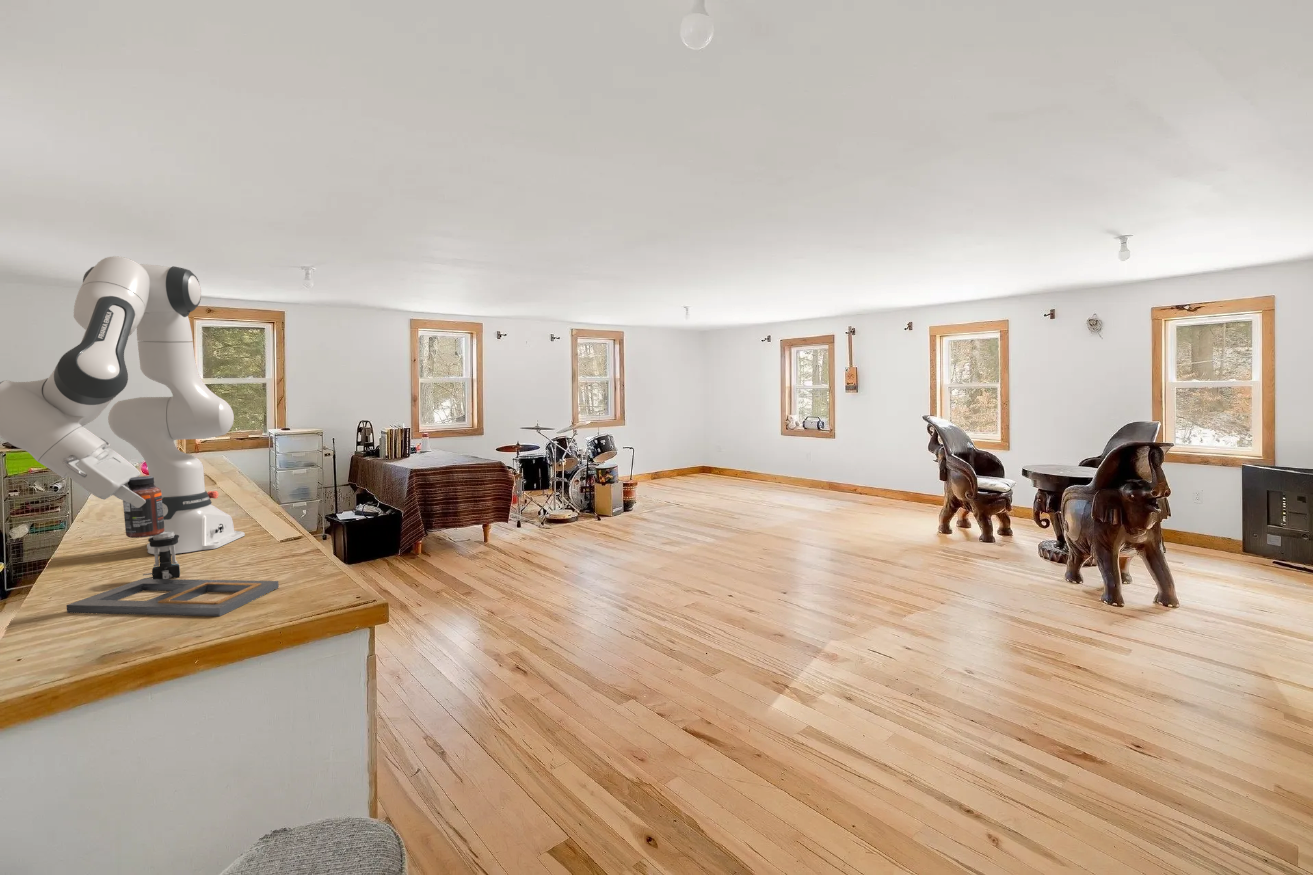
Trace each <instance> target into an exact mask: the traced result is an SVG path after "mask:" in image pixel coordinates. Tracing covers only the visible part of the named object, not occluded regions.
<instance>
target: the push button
mask: <svg viewBox="0 0 1313 875" xmlns="http://www.w3.org/2000/svg"><path fill="white" fill-rule="evenodd" d="M178 538H179V535H175V534H174V532H173V531H164V532H163V533H161V534H159V535H155V536H153V537H152V538H150V537H148V539H147V541H148V543H149V542H150V546H151V547H154V554H153V555H154V563H153V567H152V570H151V572H149V573H143V574H142V576H147V575H151V576H149V577H143V578H142V579H178V578H180V576H181V569H180V564H179V563H178V561H177V558H176V554H175V544H176V543H178ZM169 547H171V553H172V554H170V550H169ZM158 548H160V552H159V554H158Z"/></svg>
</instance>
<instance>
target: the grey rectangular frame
mask: <svg viewBox="0 0 1313 875" xmlns="http://www.w3.org/2000/svg"><path fill="white" fill-rule="evenodd" d="M279 584H280V583H279V581H278V580H241V579H240V580H239V579H237V580H235V579H233V580H232V579H229V580H228V579H178V578H170V579H153V578H152V579H147V578H146V579H143V578H141V579H137V580H135V581H131V582H129V583H125V584H122V585H120V586H118V587H114V588H111V589H109V590H107V591H103V592H101V593H97V594H94V595H91V596H88V597H86V598H83V599H80V600H77V601H74V602H71V603H68V604H66V613H67V614H91V613H93V614H94V615H95V614H96V613H97V614H98V615H99V614H100V615H102V614H103V615H137V616H138V615H144V616H145V615H146V616H152V615H153V616H159V615H160V616H185V617H186V616H189V617H190V616H194V617H195V616H196V617H197V616H199V617H222V616H224V615H226V614H227V613H230V612H232V611H233V610H236V609H238V608H240V607H243V606H244V604H245V605H247V604H249V603H250V602H253V601H255V600H257V599H259V598H261V597H263V596H265V595H267V594H266V593H268V594H269V592H270V591H272V592H273V590H274V589H276V590H277V588H278V587H279ZM278 589H279V588H278ZM144 591H146V592H151V591H153V592H165V593H163V594H161V595H158V596H154V597H153V598H150V599H148V600H127V599H126V600H124V599H125V598H128V597H130V596H133V595H135V594H138V593H141V592H144ZM274 591H275V590H274ZM206 593H233V594H230V595H227V596H225V597H224V598H221V599H219V600H192V599H194V598H197V597H199V596H202V595H204V594H206ZM270 593H271V592H270ZM264 594H265V595H264ZM262 595H263V596H262ZM260 596H261V597H260ZM256 598H257V599H256ZM252 600H253V601H252ZM248 602H249V603H248Z"/></svg>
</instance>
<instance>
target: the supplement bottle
mask: <svg viewBox="0 0 1313 875" xmlns="http://www.w3.org/2000/svg"><path fill="white" fill-rule="evenodd" d="M128 486H129V487H128V488H129V490H131V491H133V492H134V493H136V494H137V495H141V496H142V497H143V498H145V499H146V500H147V501H146V503H145V504H144V505H142V506H141V507H140V508H137V507H135V506H133V505H132V504H130V503H128V502H126V501H123V500H122V503H123V504H122V505H123V516H124V527H125V536H126V537H127V538H130V539H136V538H137V539H139V538H141V539H142V538H150V536H155V535H159V534H161V533H163V532H164V530H165V529H164V516H163V505H162V494H161V490H160V488H158V487H156V486H155V485H154V477H153V476H149V475H148V476H147V475H145V476H141V475H140V476H139V477H133V478H130V479H129V482H128Z"/></svg>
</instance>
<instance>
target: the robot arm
mask: <svg viewBox="0 0 1313 875" xmlns="http://www.w3.org/2000/svg"><path fill="white" fill-rule="evenodd" d="M75 298H76V299H75V302H74V306H73V318H74V320H75V321H76V323H77V324H78V325H79V326H80V327H81V328H82V329H84V330H85V331H84V334H83V336H82V339H81V342H80V343H79V344H77V345H76V346H74V347H72V348H71V349H70V350H68V351H67V352H65V353H64V354H63V355H62V356H61V357H60V358H59V361H58V362H57V364H56V366H55V368H54V370H52V373H51V374H50V375H49V376H48V377H47V378H43V379H39V380H33V381H12V380H8V379H7V380H2V381H0V438H1V439H2V440H4V441H5V442H8V443H9V444H10V445H12V446H13V447H16V448H18V449H21V450H23V451H26V452H27V453H28V454H30V456H32V457H33V459H34V460H35V461H37V463H39V464H41V465H43V466H44V467H46V468H47V469H49V470H50V471H51V472H53V473H55V474H57V476H59V477H61V478H63V479H66V478H70V479H71V480H72V481H73V482H75V483H76V484H77V485H78V486H80V487H81V488H83V489H84V490H85V491H87V492H88V493H90V494H91V495H93V496H95V497H96V498H98V499H101V500H103V501H105V500H107V499H109V498H110V497H112V496H114V497H115V498H117V499H118V500H121V501H122V502H123V501H126V502H128V503H130V504H132V505H133V506H135V507H137V508H140V507H141V506H142V505H144V504H145V503H146V501H147V500H146V499H145V498H143V497H142V496H141V495H137V494H136V493H134V492H133V491H131V490H129V488H128V487H129V486H128V482H129V479H130V478H133V477H141V475H142V474H141V472H140V471H139V469H138V468H137V467H136V466H135V465H133V464H132V463H131V462H130V461H128V460H127V458H124V457H123V456H122V455H121V454H120V453H118V452H117V451H116V450H114V449H113V448H111V443H110V442H108V441H107V440H105V439H104V438H102V437H99V436H98V435H96V434H94V433H93V432H92V431H90V430H89V429H87V427H84V426H86V425H88V424H90V423H92V422H94V421H95V420H96V419H97V418H98V417H99V416H100V415H101V414H102V413H103V411H104V410H106V408H107V407H108V406H109V405H110V404H111V402H112V401H113V400H114V399H115V398H116V397H117V396H118V395H119V394H120V393H121V392H123V391H124V389H125V388H126V386H127V385H128V380H129V374H128V369H127V365H126V361H125V349H126V347H127V343H128V340H129V337H130V336H132V334H133V332H135V330H136V340H137V349H138V350H137V351H138V358H139V359H138V360H139V368H140V370H141V373H142V374H143V375H144V376H145V377H146V378H148V379H150V380H152V381H154V382H157V383H158V384H162V385H164V386H166V387H167V388H168V389H169V390H170V392H171V394H172V396H144V397H142V396H139V397H134V398H128V399H122V400H118V401H117V402H115V403H114V404H113V406H112V407H111V409H110V410H109V413H108V417H107V418H108V420H107V421H108V425H109V428H110V429H111V430H110V431H112V432H113V434H114V435H116V436H117V437H118V438H119V439H121V440H122V441H125V442H127V443H128V444H130V445H131V446H132V447H133V448H135V450H137V451H138V453H139V454H140V455H141V457H142V459H143V460H144V462H145V464H146V467H147V470H148V476H153V477H154V485H155V486H156V487H158V488H160V490H161V494H162V505H163V516H164V529H165V530H164V531H173V532H174V534H175V535H179V538H178V543H176V544H175V555H176V554H182V553H183V554H184V553H191V552H197V551H204V550H212V549H213V550H214V549H218V548H220V547H222V546H225V545H228V544H229V543H231V542H234V541H236V540H238V539H241V538H243V537H245V535H246V534H245V532H244V531H241V530H240V531H239V530H235V526H234V521H233V518H232V516H231V515H230V514H228V513H227V512H225V511H224V510H222V509H219V508H218V507H217V506H215V505H213V504H212V503H213V502H212V499H214V500H215V499H218V497H219V496H220V495H219V492H218V491H217V490H213V491H211V490H209V491H206V487H205V486H206V485H205V472H204V470H205V469H204V465H203V462H202V461H201V460H200V459H199V458H198V457H196V456H194V455H192V454H189V453H186V452H184V451H181V450H179V449H178V448H177V446H176V445H175V441H179V440H206V439H211V438H215V437H216V438H217V437H221V436H225V435H226V434H228V433H229V432H230V430H231V429H232V427H233V425H234V422H235V421H234V420H235V415H234V411H233V408H232V407H231V405H230V404H229V402H227V401H226V400H224V399H223V398H222V397H220V396H218V395H217V394H215V393H214V392H213V391H212V390H210V388H208V386H207V385H206V384H205V383H204V381H203V380H202V378H201V376H200V373H199V371H198V368H197V362H196V357H195V356H196V355H195V349H194V342H193V341H194V340H193V332H192V327H191V326H192V325H191V322H190V318H189V315H190V313H191V312H194V311H195V310H196V309H197V308H198V306H199V305H200V302H201V298H202V289H201V285H200V281H199V278H198V277H197V276H196V274H194V273H193V271H191V270H190V269H188V268H184V267H179V266H171V267H170V266H164V265H158V264H148V263H147V264H146V263H138V262H137V261H135V260H133V259H130V258H128V257H123V256H116V255H113V256H107V257H104V258H102V259H100V261H98V262H97V263H96V264H95V265H94V266H91V267H90V268H89V269H88V270H87V271H86V272H84V274H83V277H82V283H81V286H80V288H79V289H78V292H77V295H76V297H75ZM152 537H153V536H150V537H149V538H152ZM146 549H147V553H148V554H151V555H154V547H151V546H150V542H149V541H148V543H147V544H146ZM169 550H170V554H171V555H172V553H171V547H169ZM159 552H160V548H158V555H159Z"/></svg>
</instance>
